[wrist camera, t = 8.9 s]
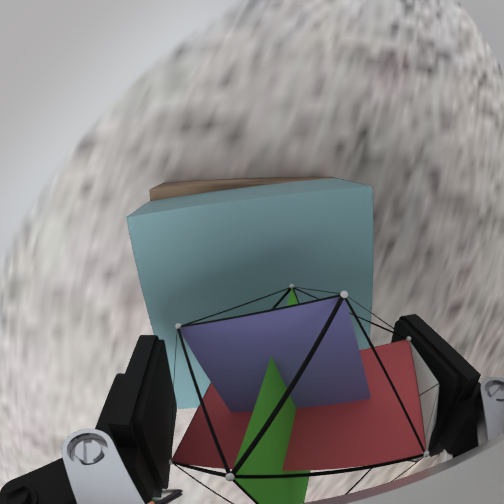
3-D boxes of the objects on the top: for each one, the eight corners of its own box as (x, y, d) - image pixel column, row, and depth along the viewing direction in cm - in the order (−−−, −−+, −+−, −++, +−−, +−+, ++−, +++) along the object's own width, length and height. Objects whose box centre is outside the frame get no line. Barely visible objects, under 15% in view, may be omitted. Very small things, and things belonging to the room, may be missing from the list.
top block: (336, 178, 15) (372, 186, 11) (339, 337, 18) (365, 378, 14) (149, 201, 14) (126, 217, 11) (184, 360, 17) (178, 408, 13)
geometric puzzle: (189, 478, 10) (349, 596, 4) (80, 353, 8) (255, 565, 2) (303, 372, 14) (468, 415, 8) (248, 240, 12) (472, 233, 6)
